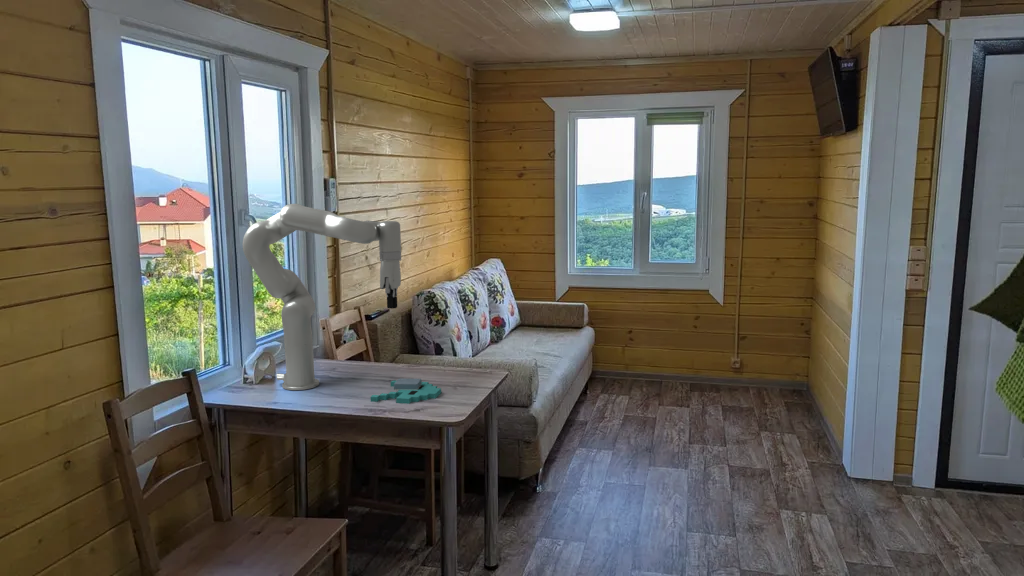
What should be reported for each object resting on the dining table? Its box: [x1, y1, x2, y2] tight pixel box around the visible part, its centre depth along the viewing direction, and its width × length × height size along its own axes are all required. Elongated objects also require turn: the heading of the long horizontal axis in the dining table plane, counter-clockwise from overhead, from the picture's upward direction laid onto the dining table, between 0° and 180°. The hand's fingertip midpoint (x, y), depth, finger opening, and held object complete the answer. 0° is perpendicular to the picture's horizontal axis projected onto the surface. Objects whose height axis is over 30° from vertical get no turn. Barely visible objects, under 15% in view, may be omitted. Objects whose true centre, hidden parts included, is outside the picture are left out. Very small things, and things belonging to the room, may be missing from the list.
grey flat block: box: [393, 378, 423, 391], centre depth 238 cm, size 7×2×8 cm
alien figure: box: [370, 380, 442, 405], centre depth 235 cm, size 20×2×20 cm
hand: (392, 307), depth 246 cm, fingers closed
